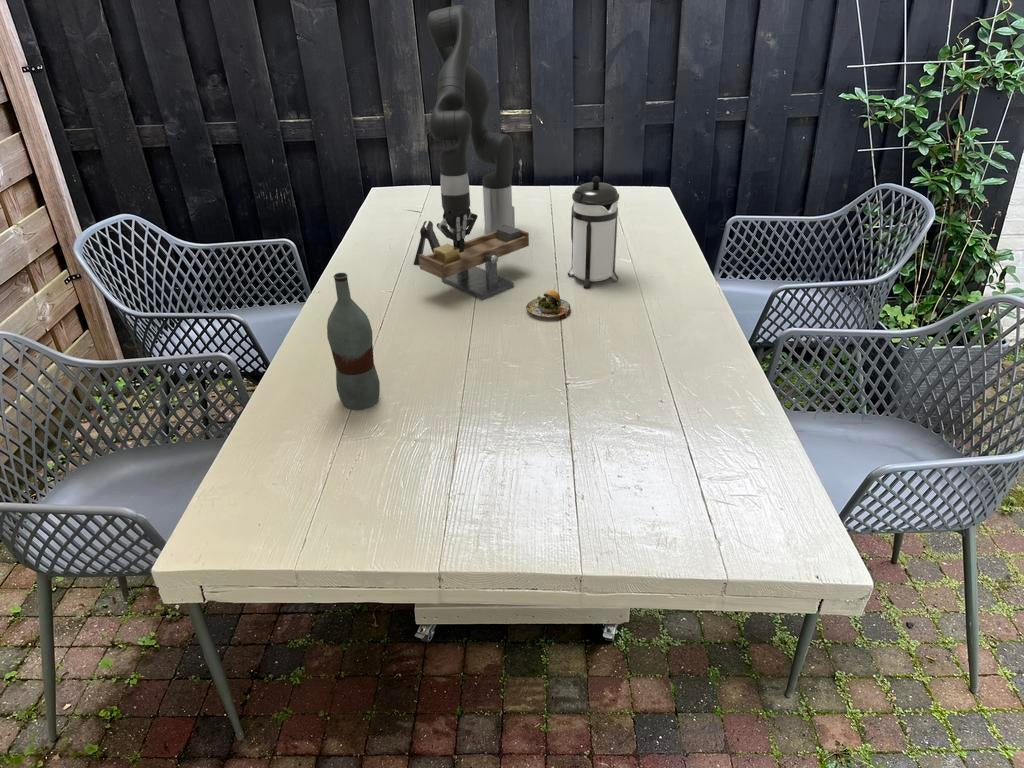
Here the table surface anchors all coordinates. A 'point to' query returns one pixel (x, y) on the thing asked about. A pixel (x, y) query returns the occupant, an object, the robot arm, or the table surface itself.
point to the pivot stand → (480, 280)
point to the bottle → (352, 350)
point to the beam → (473, 254)
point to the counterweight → (508, 233)
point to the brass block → (446, 254)
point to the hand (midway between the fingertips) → (459, 251)
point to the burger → (549, 306)
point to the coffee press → (594, 231)
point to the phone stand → (433, 241)
